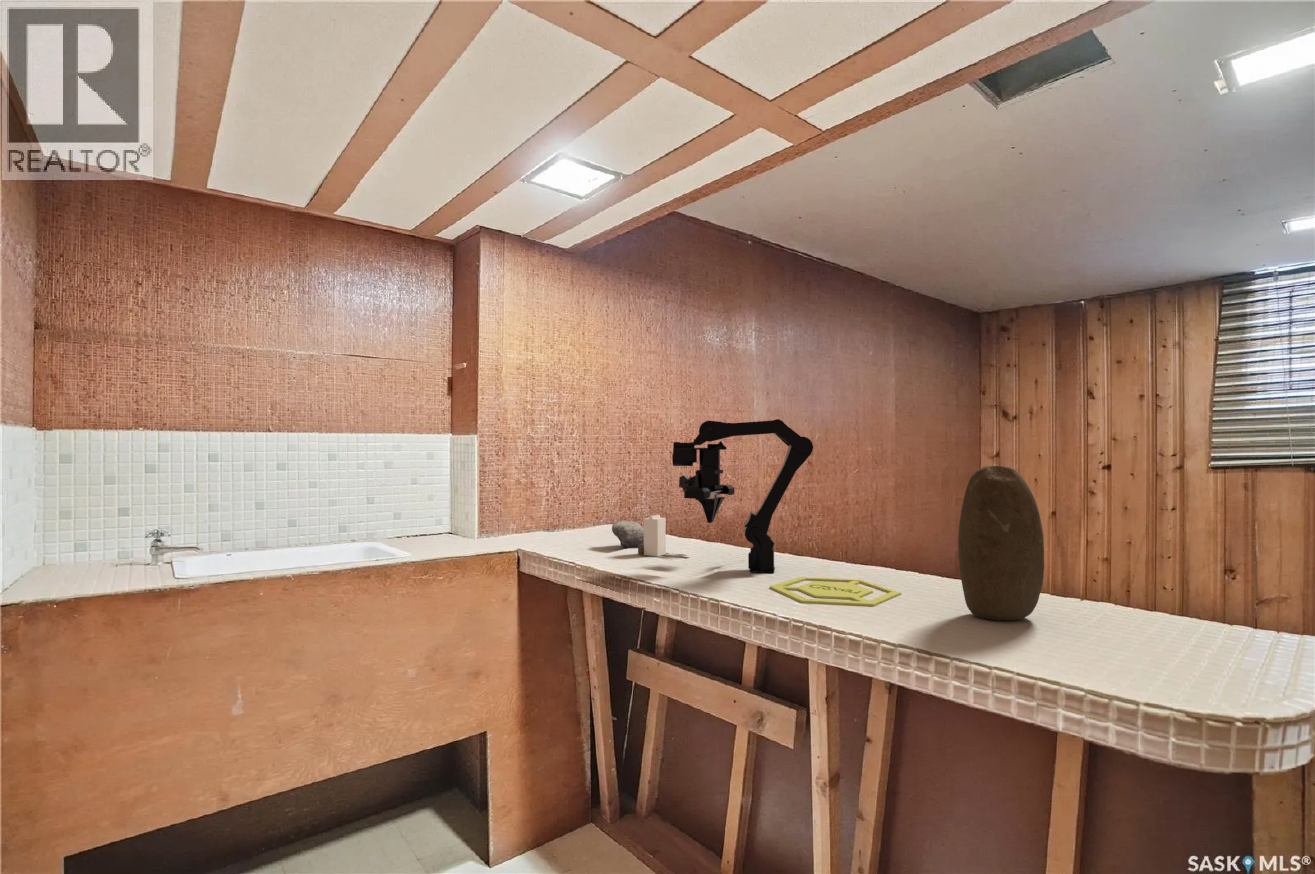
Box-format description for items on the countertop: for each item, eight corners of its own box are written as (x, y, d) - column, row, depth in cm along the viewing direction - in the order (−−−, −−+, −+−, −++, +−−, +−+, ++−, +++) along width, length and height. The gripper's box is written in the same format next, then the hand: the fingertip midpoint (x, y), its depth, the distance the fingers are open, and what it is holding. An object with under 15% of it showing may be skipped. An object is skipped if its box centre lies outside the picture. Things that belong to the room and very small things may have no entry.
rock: (637, 559, 203) (632, 530, 201) (607, 549, 216) (603, 521, 214) (662, 548, 210) (658, 520, 208) (632, 539, 223) (628, 512, 221)
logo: (914, 586, 150) (858, 610, 128) (914, 589, 150) (858, 614, 128) (816, 572, 168) (751, 591, 146) (816, 575, 168) (751, 594, 146)
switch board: (697, 559, 189) (697, 547, 189) (680, 565, 181) (680, 552, 181) (650, 554, 198) (650, 543, 198) (632, 559, 190) (632, 547, 190)
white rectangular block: (665, 553, 192) (665, 515, 192) (657, 556, 188) (657, 516, 188) (652, 552, 195) (651, 514, 195) (643, 554, 191) (643, 515, 191)
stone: (947, 613, 127) (946, 465, 128) (999, 606, 133) (997, 464, 134) (1004, 630, 116) (1002, 467, 116) (1058, 621, 121) (1055, 465, 122)
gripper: (701, 465, 186) (701, 517, 186) (666, 466, 171) (667, 524, 171) (734, 465, 180) (735, 520, 180) (702, 467, 165) (703, 527, 164)
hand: (710, 522), depth 174 cm, fingers closed
